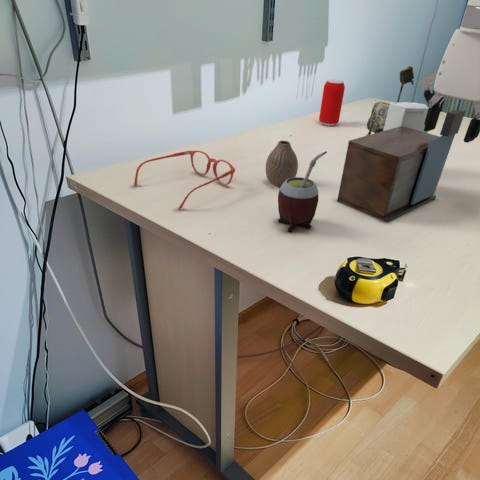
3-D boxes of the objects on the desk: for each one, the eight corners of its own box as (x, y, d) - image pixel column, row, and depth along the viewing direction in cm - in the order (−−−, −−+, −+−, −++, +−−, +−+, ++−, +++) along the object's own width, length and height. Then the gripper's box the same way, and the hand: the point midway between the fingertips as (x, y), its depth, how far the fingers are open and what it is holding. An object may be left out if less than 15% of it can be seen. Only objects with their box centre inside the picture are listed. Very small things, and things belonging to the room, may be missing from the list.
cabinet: (435, 199, 90) (455, 140, 82) (387, 222, 80) (405, 158, 72) (386, 181, 96) (401, 125, 89) (336, 201, 87) (348, 140, 79)
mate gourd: (282, 213, 81) (291, 131, 72) (322, 222, 79) (337, 138, 70) (269, 229, 76) (277, 143, 66) (311, 239, 74) (326, 151, 64)
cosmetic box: (386, 177, 98) (405, 108, 89) (372, 168, 102) (388, 101, 93) (416, 174, 100) (437, 106, 91) (400, 166, 105) (419, 100, 95)
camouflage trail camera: (359, 146, 116) (377, 61, 103) (402, 151, 114) (425, 66, 101) (357, 155, 110) (376, 66, 97) (402, 161, 108) (427, 71, 95)
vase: (287, 192, 89) (292, 149, 84) (258, 185, 92) (261, 143, 86) (300, 182, 94) (306, 141, 88) (272, 175, 96) (276, 135, 91)
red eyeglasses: (242, 190, 89) (243, 167, 86) (183, 212, 80) (181, 186, 77) (189, 167, 98) (188, 145, 95) (130, 184, 89) (127, 160, 86)
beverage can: (338, 122, 134) (346, 79, 126) (337, 127, 129) (345, 83, 121) (319, 120, 135) (325, 77, 127) (317, 125, 130) (324, 81, 122)
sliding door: (436, 195, 88) (466, 111, 78) (414, 205, 84) (443, 117, 73) (429, 192, 89) (458, 109, 79) (407, 203, 85) (434, 115, 74)
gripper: (552, 26, 66) (503, 144, 77) (448, 16, 75) (417, 121, 87) (534, 28, 62) (484, 152, 73) (426, 16, 71) (397, 127, 83)
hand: (448, 134), depth 80 cm, fingers open, 7 cm apart
